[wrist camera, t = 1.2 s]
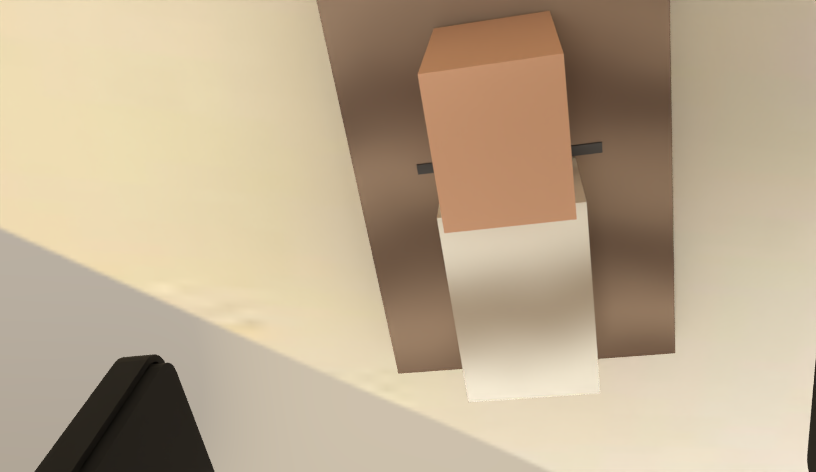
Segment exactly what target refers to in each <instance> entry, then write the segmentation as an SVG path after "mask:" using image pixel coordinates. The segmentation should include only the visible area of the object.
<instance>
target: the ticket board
mask: <svg viewBox="0 0 816 472" xmlns="http://www.w3.org/2000/svg"><path fill="white" fill-rule="evenodd" d="M317 4H318V9H319V13H320V18H321V22H322V27H323V32H324V36H325V41H326V45H327V50H328V54H329V59H330V63H331V68H332V73H333V77H334V82H335V86H336V91H337V95H338V100H339V104H340V109H341V114H342V118H343V123H344V127H345V132H346V136H347V141H348V145H349V150H350V155H351V159H352V164H353V168H354V173H355V177H356V182H357V186H358V191H359V196H360V200H361V205H362V209H363V214H364V218H365V223H366V227H367V232H368V237H369V241H370V246H371V250H372V255H373V259H374V264H375V268H376V273H377V278H378V282H379V287H380V291H381V296H382V300H383V305H384V309H385V314H386V319H387V323H388V328H389V332H390V337H391V341H392V346H393V350H394V355H395V360H396V364H397V369H398V373H412V372H425V371H439V370H452V369H463V374H464V380H465V386H466V391H467V397H468V402H480V401H495V400H510V399H525V398H540V397H556V396H571V395H586V394H600V382H599V368H598V359H601V358H615V357H628V356H642V355H655V354H669V353H675V318H674V252H673V186H672V119H671V53H670V0H317ZM544 11H550V13H551V16H552V19H553V22H554V25H555V29H556V32H557V35H558V38H559V41H560V44H561V47H562V50H563V53H564V64H565V77H566V89H567V102H568V115H569V127H570V140H571V153H572V165H573V178H574V191H575V203H576V216H577V219H575V220H565V221H556V222H546V223H537V224H528V225H518V226H509V227H499V228H490V229H480V230H471V231H461V232H452V233H444V229H443V223H442V217H441V211H440V205H439V199H438V193H437V187H436V181H435V175H434V169H433V163H432V157H431V151H430V145H429V139H428V134H427V128H426V122H425V116H424V110H423V104H422V98H421V92H420V86H419V80H418V72H419V69H420V66H421V63H422V60H423V57H424V55H425V52H426V49H427V46H428V43H429V40H430V37H431V35H432V32H433V29H434V28H440V27H446V26H453V25H459V24H466V23H472V22H479V21H485V20H492V19H498V18H505V17H511V16H518V15H524V14H531V13H537V12H544Z"/></svg>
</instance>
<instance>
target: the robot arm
mask: <svg viewBox="0 0 816 472" xmlns="http://www.w3.org/2000/svg"><path fill="white" fill-rule="evenodd" d="M807 463H808V470H809V472H816V362H815V374H814V385H813V397H812V408H811V420H810V431H809V443H808V454H807ZM35 472H214V469H213V466H212V464H211V461H210V459H209V456H208V454H207V451H206V448H205V445H204V443H203V440H202V438H201V435H200V433H199V430H198V427H197V425H196V422H195V420H194V417H193V414H192V411H191V409H190V406H189V403H188V401H187V398H186V396H185V393H184V390H183V388H182V385H181V383H180V380H179V377H178V374H177V372H176V370H175V368H174V366H173V365H172V364H170V363H165V362H164V360H163V359H162V358H161V357H160V356H158V355H144V356H132V357H123V358H120V359H118V360H117V361H116V362H115V363H114V364H113V366H112V367H111V369H110V370H109V371H108V373H107V374H106V375H105V377H104V378H103V379H102V381H101V382H100V383H99V385H98V386H97V388H96V389H95V390H94V392H93V393H92V394H91V396H90V397H89V398H88V400H87V401H86V402H85V404H84V405H83V407H82V408H81V409H80V411H79V412H78V413H77V415H76V416H75V417H74V419H73V420H72V422H71V423H70V424H69V426H68V427H67V428H66V430H65V431H64V432H63V434H62V435H61V436H60V438H59V439H58V441H57V442H56V443H55V445H54V446H53V448H52V449H51V450H50V451H49V453H48V454H47V456H46V457H45V458H44V460H43V461H42V462H41V464H40V465H39V466H38V468H37V469H36V470H35Z"/></svg>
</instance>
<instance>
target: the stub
mask: <svg viewBox="0 0 816 472" xmlns="http://www.w3.org/2000/svg"><path fill="white" fill-rule="evenodd" d="M418 80H419V86H420V92H421V98H422V104H423V110H424V116H425V122H426V128H427V134H428V139H429V145H430V151H431V157H432V163H433V169H434V175H435V181H436V187H437V193H438V199H439V205H440V211H441V217H442V223H443V229H444V233H452V232H461V231H471V230H480V229H490V228H499V227H509V226H518V225H528V224H537V223H546V222H556V221H565V220H575V219H577V216H576V203H575V191H574V178H573V165H572V153H571V140H570V127H569V115H568V102H567V89H566V77H565V64H564V53H563V50H562V47H561V44H560V41H559V38H558V35H557V32H556V29H555V25H554V22H553V19H552V16H551V13H550V11H544V12H537V13H531V14H524V15H518V16H511V17H505V18H498V19H492V20H485V21H479V22H472V23H466V24H459V25H453V26H446V27H440V28H434V29H433V32H432V35H431V37H430V40H429V43H428V46H427V49H426V52H425V55H424V57H423V60H422V63H421V66H420V69H419V72H418Z"/></svg>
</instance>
